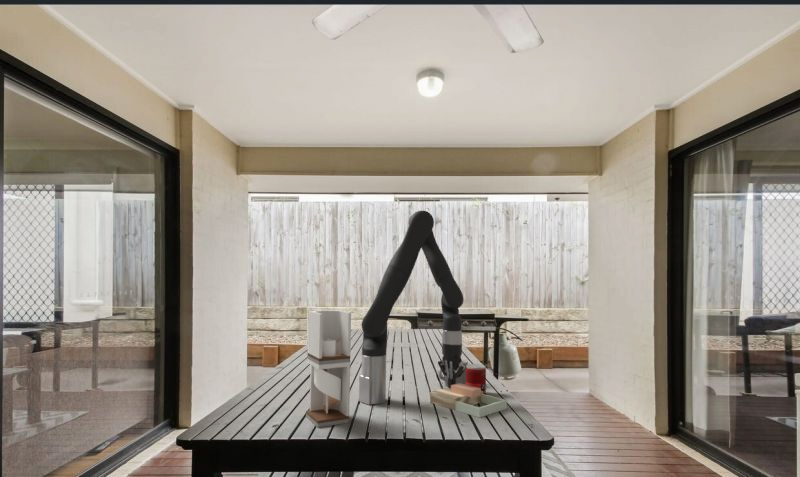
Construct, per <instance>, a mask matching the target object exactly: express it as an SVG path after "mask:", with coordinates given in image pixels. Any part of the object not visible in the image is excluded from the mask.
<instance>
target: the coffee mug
mask: <svg viewBox="0 0 800 477" xmlns="http://www.w3.org/2000/svg"><path fill="white" fill-rule="evenodd" d="M461 360H462V364H463V365H469V362H468V360H466V359H462V358H461ZM445 372H446V371H445ZM437 374H438V378H439V379H440V380H441V381H443V382H444V385H445V386H447V387H448V378H447V376H444V375H442V374H443V373H442V371H441V369H440V367H438V371H437ZM458 383H461V384H466V369H465V371H464V372H463V374H462V375H461V377H459V378H456V384H458Z"/></svg>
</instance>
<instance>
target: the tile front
mask: <svg viewBox="0 0 800 477" xmlns="http://www.w3.org/2000/svg"><path fill="white" fill-rule="evenodd" d="M461 395H464V396H467V397H471V398H473V397H476V396H480V395H481V388H478V387H473V386H466V387H463V388H461Z"/></svg>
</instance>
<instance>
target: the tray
mask: <svg viewBox="0 0 800 477" xmlns="http://www.w3.org/2000/svg"><path fill="white" fill-rule="evenodd" d="M507 402H508V401H507V399H504V398H501V397H496V396H493V395H488V394H486V393H485V394H481V403H482V404H486V405H483V406H475V405H469V404H465V403H462V402H458V401H455V410H454V411H457V412H460V413H464V414H467V415H470V416H473V417H477V418H483V417H485V416H488V414H489V415H491V414H494V413H495V414H496V413H497V412H501V411H504V410H507V407H508V405H507V404H508V403H507Z"/></svg>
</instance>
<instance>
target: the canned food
mask: <svg viewBox="0 0 800 477" xmlns="http://www.w3.org/2000/svg"><path fill="white" fill-rule="evenodd" d="M466 367H467V368H466V385H470V386H473V387H478V388H481V391H483V394H485V395H486V391H487V386H486V385H487V382H486V381H487V368H486V367H487V366H485V365H484V364H476V363H471V364H469V363H468V365H466Z"/></svg>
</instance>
